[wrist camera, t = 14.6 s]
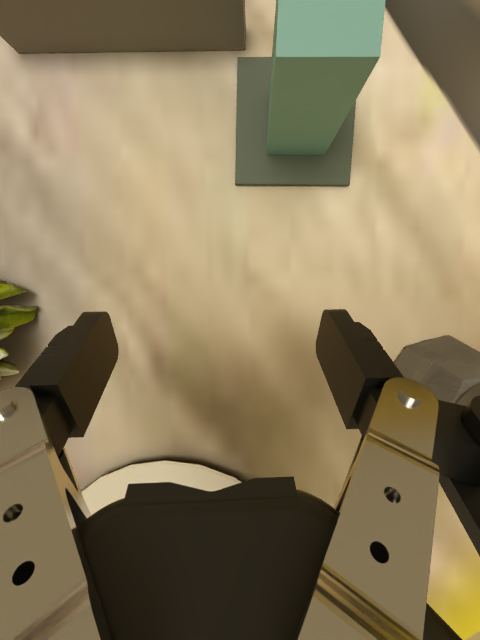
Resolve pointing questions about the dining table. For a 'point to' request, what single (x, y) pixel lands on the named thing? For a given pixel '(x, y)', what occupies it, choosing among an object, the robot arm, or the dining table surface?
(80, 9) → the screen
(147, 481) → the plate
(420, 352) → the coffeepot
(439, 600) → the dining table surface
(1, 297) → the passion flower
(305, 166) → the mat
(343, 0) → the block
